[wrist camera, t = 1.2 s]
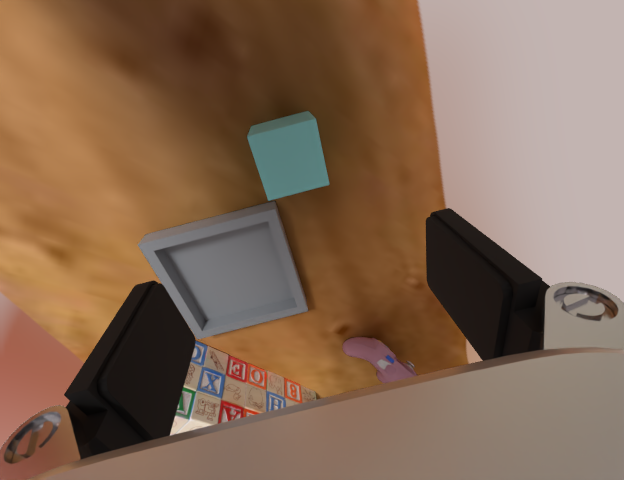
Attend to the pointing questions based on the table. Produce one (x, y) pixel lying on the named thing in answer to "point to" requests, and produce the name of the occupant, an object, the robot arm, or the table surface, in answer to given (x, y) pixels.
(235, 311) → the tray
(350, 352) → the purple elongated lump
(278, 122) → the cube
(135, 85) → the table surface
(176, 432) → the stack of blocks
